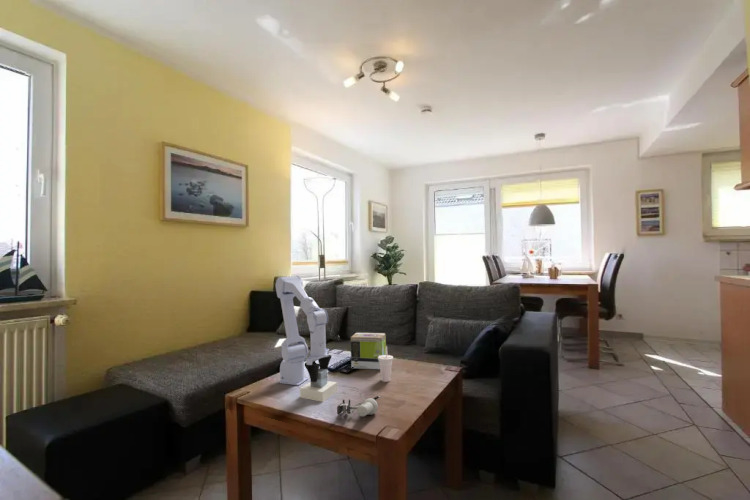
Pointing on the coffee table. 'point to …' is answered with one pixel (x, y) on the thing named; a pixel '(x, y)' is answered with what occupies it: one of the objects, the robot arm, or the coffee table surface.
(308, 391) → the base box
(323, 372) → the block
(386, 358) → the smoothie
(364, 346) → the tea box
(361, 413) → the clip-on lamp
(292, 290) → the robot arm
